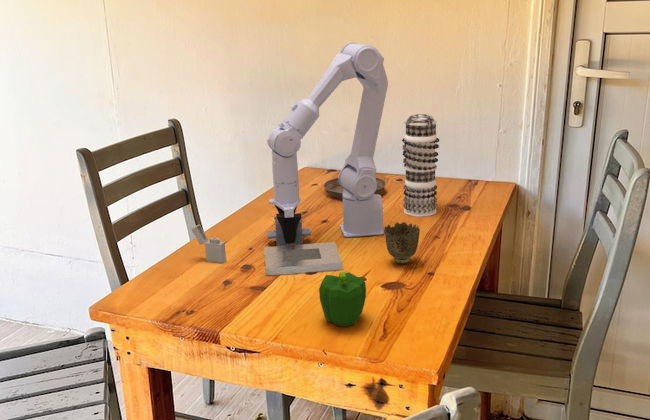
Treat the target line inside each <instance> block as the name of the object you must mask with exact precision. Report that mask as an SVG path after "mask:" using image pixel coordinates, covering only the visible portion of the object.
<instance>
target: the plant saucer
mask: <svg viewBox="0 0 650 420" xmlns="http://www.w3.org/2000/svg"><path fill="white" fill-rule="evenodd" d="M376 181H377V188H376V191H375V193H374V194H379V195H380V193H382V192H383V190H384V188H385V186H386V185H387V184H386V183H387V182H386V181H385V180H384V179H382V178H379V177H376ZM323 188H324V189H325V191H326V192H327V193H328V194H329V195H330V196H331V197H333V198H334V199H339V200H343V187H342V186H341V185H340V183H339V179H338V177H335V178H332V179H330V180H327V181H325V182H324V183H323Z"/></svg>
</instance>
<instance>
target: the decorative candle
mask: <svg viewBox="0 0 650 420" xmlns="http://www.w3.org/2000/svg"><path fill="white" fill-rule="evenodd" d="M404 124H405V133H404V138H402V139H401V141H402V142H403V145H402V150H403V151H402V156H403V157H404V158H403V161H402V163H403V170H405V178H404V185H403V189H404V191H403V195H404V197H403V212H404V214H405V215H408V216H410V217H417V218H418V217H421V218H423V217H430V216H433V215H435V214H436V213H437V202H438V198H437V197H436V196H437V193H438V191H436V190H437V189H438V185H437V184H436V183H437V181H436V180H437V178H436V170H438V165H437V164H436V163H437V162H438V161H439V159H438V158H437V157H438V156H439V152H437V151H436V150H437V149H438V148H440V145H439V144H438V143H439V142H440V139H439V138H438V137H437V124H438V121H437V120H435V119H434V117H433V116H432V115H430V114H427V113H426V114H425V113H418V114H411V115H410V116H408V118H407V119H406V120H405V121H404Z"/></svg>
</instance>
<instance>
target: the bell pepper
mask: <svg viewBox="0 0 650 420" xmlns="http://www.w3.org/2000/svg"><path fill="white" fill-rule="evenodd" d="M366 284H367V283H366V280H365V279H364V277H362V276H361V277H359V276H357V275H355V274H353V273H351V272H349V271H347V272H345V271H340V272H339V273H338V275H334V274H333V275H330V274H325V276H324V278H323V279H322V281H321V282H320V284H319V288H318V292H319V301H320V305H321V309H322V312H323V315H324V317H325V318H326V320H327V321H328V322H330V323H334V325H337V326H339V327H349V326H354V325H355V324H356V323H357V322H358V321H359V320H360V318H361V316H362V313H363V310H364V306H365V303H366V298H367V286H366Z"/></svg>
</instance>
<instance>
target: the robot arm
mask: <svg viewBox="0 0 650 420" xmlns="http://www.w3.org/2000/svg"><path fill="white" fill-rule="evenodd" d="M384 59H385V57H384V56H383V55H382V53H380V51H379V50H378V49H377V47H375V46H373V45H369V44H361V43H359V42H348V43H346V44H345V45H344V46H343V47H341V50H340V52H337V54H336V55H335V56H334V58H333V60H332V62H331V63H330V65H329V67H327V69H326V70H325V72H324V74H323V75H322V77H321V78H320V80H319V81H318V82H317V84H316V85H315V87H314V88H313V90H312V91H311V92H310V94H309V96H308V97H307V98H305V99H300V100H298V101H297V102H296V103H295V102H293V103H292V105H291V106H290V108H291V110H290V112H289V113H288V114H287V115H286V117H285V118H284V119H283V120H282V121H280V122H279V123H278V124H277V125H278V127H276V128H273V130H271V131H270V133H269V136H268V139H267V140H266V142H267V145H268V147H269V149H271V157H272V158H271V159H272V160H271V167H272V169H271V170H272V180H273V181H272V183H273V198H269V201H268V203H269V205H274V206H275V208H276V211H277V212H278V213H276V214H275V217H276V218H275V219H277V220H278V222H279V223H280V225H281V228H282V231H283V236H284V240H285V243H286V244H287V243H295V239H296V232H297V227H298V224H299V221H300V219H301V220H302V213H296V211H297V208H298V206H299V204H300V203H301V198H300V188H299V187H300V186H299V167H298V163H299V162H298V151H300V149H301V143H302V141H301V140H302V139H303V138H304V137H305V135H306V134H307V133H308V132H309V131H310V129H311V128H312V126H313V125H314V124H315V123H316V121H317V120H319V119H318V118H320V108H321V106H322V105H324V103H325V102H326V100H327V99H328V98H329V97H330V96H331V94H332V93H333V92H334V91H335V90H336V89H337V88H338V86H339V85H340V84H341V83H342V82H344V81H347V80H352V79H355V78H356V79H357V80H358V82H359V83H360V84H361V85H362V87H363V90H362V94H361V99H360V105H359V110H358V115H357V119H356V125H355V129H354V135H353V139H352V140H353V141H352V144H351V145H352V146H351V151H350V154H349V155H348V156H347V157H346V158H345V160H344V165H343V167H342V168H341V170H340V171H339V173H338V177H337V178H338V179H339V183H340V185H341V186H342V187H343V199H342V216H343V217H342V219H343V221H342V223H341V224H339V228H340V230H341V232H342V235H343V237H344V238H352V237H353V238H354V237H367V236H378V235H379V236H381V235H385V231H384V205H383V204H384V203H383V199H382V198H383V197H382V195H381V194H380V193H379V194H374V193H375V191H376V188H377V181H376V178H377V177H376V175H377V167H376V164H375V161H374V156H375V151H376V146H377V142H378V141H377V140H378V137H379V136H378V135H379V132H380V131H379V129H380V126H381V120H382V116H383V113H384V112H383V111H384V107H385V101H386V96H387V93H388V87H389V80H388V77H387V73H386V69H385V66H384Z"/></svg>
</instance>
